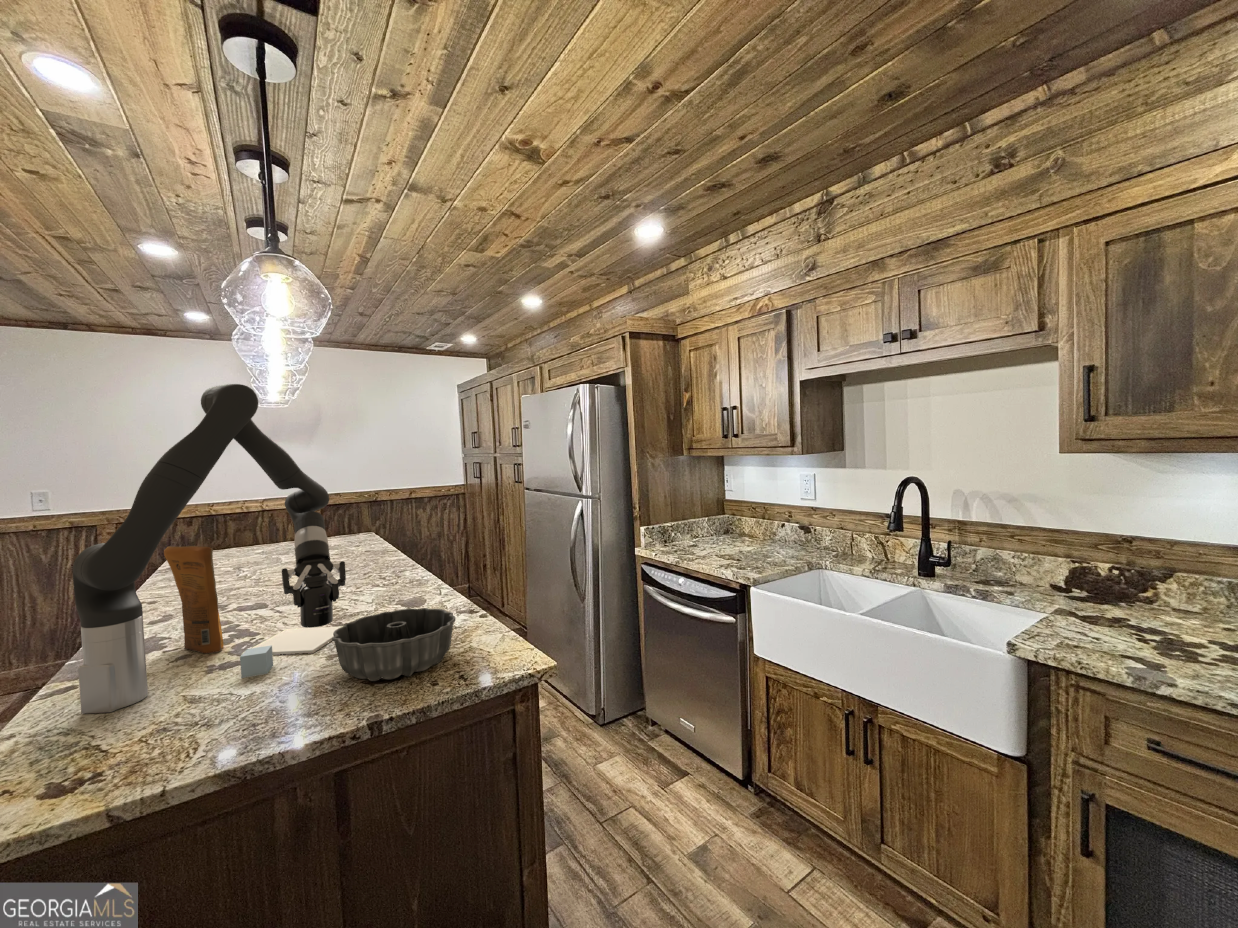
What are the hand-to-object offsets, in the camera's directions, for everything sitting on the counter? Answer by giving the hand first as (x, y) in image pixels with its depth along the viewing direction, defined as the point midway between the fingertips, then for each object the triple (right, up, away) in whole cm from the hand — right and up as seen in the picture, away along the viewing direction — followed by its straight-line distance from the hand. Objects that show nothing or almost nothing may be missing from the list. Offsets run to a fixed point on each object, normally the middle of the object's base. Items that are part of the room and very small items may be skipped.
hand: (317, 602), depth 124 cm
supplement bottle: (-1, -6, +1) cm, 6 cm away
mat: (-14, -15, +16) cm, 26 cm away
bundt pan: (+21, -14, -3) cm, 26 cm away
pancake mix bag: (-39, -16, +13) cm, 44 cm away
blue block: (-12, -15, -3) cm, 20 cm away
